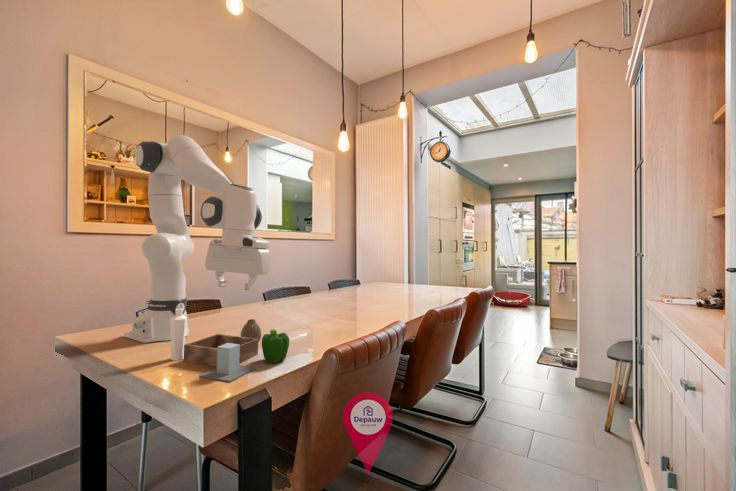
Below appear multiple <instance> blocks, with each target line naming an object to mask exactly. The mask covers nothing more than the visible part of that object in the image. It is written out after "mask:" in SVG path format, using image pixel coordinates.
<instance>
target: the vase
mask: <svg viewBox="0 0 736 491" xmlns="http://www.w3.org/2000/svg"><path fill="white" fill-rule="evenodd" d="M240 337H246V338H254V339H258V343H259V342H260V340H262V329H261V326H260V325H259V324H258V323H257V322H256V319H253V318H251V319H249V318H248V319H247V321H246V323H245V324H244V325H243V327H242V328H241V331H240Z"/></svg>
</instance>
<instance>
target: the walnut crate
mask: <svg viewBox="0 0 736 491" xmlns="http://www.w3.org/2000/svg"><path fill="white" fill-rule="evenodd" d="M226 343H233V344H240V355H239V364H242V363H244V362H246V361H248V360H249V359H251V358H254V357H256V356H258V354H259V342H258V339H254V338H246V337H241V336H237V335H229V334H220V333H216V334H213V335H210V336H208V337H204V338H201V339H198V340H195V341H191V342H189V343H186V344H185V343H184V351H183V353H184V359H183V362H184V363H189V364H195V365H201V366H207V367H212V368H213V367H214V368H216V367H217V347H218V346H221V345H224V344H226Z"/></svg>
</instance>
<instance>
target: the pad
mask: <svg viewBox="0 0 736 491" xmlns="http://www.w3.org/2000/svg"><path fill="white" fill-rule="evenodd" d="M255 370H256V367H254V366H247V365H243V364H239V370H237V371H235V372H233V373H231V374H229V375H227V374H221V373H217V367H214V368H212V369H210V370H207V371H206V372H204V373H202V374H199V375H198V377H199V378H204V379H208V380H215V381H221V382H226V383H233V382H234V381H235V380H238V379H239V378H241V377H243V376H244V375H247V374H249V373H251V372H252V371H255Z"/></svg>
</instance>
